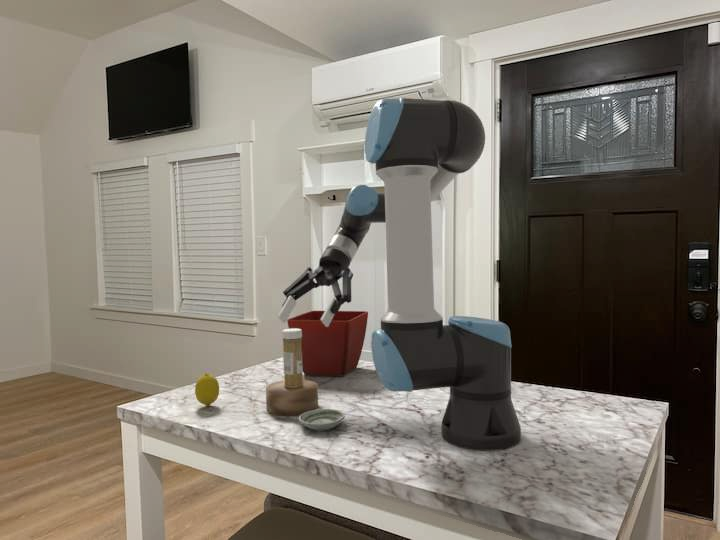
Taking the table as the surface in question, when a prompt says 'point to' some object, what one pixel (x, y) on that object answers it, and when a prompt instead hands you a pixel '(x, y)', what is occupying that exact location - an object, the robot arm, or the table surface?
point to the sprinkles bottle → (292, 358)
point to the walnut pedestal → (291, 398)
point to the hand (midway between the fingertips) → (301, 321)
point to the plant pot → (331, 341)
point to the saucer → (321, 419)
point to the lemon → (207, 389)
